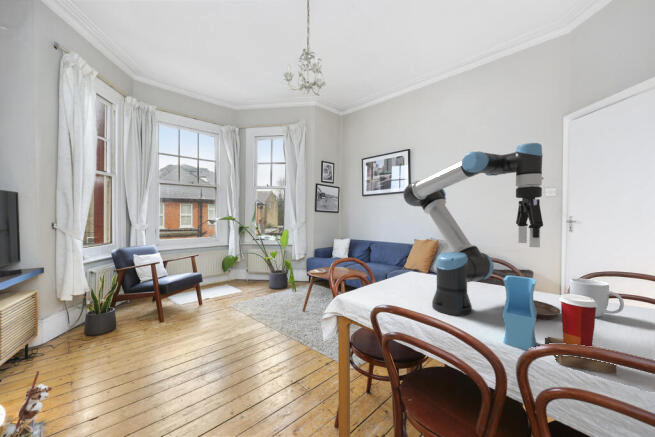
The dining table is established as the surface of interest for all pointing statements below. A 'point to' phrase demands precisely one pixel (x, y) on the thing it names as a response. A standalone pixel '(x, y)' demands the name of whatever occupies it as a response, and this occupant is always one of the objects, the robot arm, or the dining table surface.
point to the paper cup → (578, 319)
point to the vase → (519, 312)
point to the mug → (595, 293)
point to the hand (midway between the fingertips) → (528, 245)
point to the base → (581, 360)
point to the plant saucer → (546, 310)
